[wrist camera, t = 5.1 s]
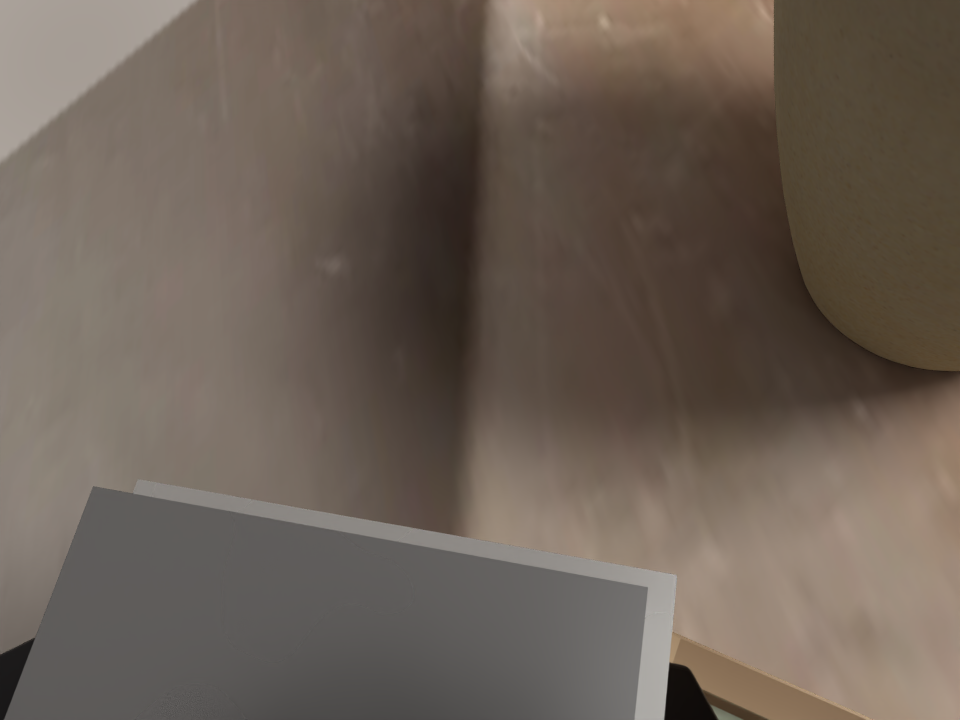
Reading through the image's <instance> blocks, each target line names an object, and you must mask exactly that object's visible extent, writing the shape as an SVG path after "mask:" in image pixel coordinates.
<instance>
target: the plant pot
mask: <svg viewBox="0 0 960 720" xmlns="http://www.w3.org/2000/svg"><path fill="white" fill-rule="evenodd" d="M774 90H775V109H776V127H777V141H778V151H779V160H780V169H781V179H782V186H783V194H784V200H785V205H786V211H787V216H788V222H789V227H790V231H791V236H792V241H793V245H794V249H795V253H796V256H797V260H798V264H799V267H800V271H801V274H802V277H803V280H804V283H805V286H806V288H807V289H808V291H809V293H810V295H811V297H812V299H813V301H814V302H815V304H816V305H817V307H818V308H819V310H820V311H821V312H822V313H823V315H824V316H825V317H826V318H827V319H828V320H829V321H830V322H831V323H832V324H833V325H834V326H835V327H836V328H837V329H838V330H839V331H840V332H841V333H843V334H844V335H845V336H847V337H848V338H849V339H851V340H852V341H854V342H855V343H857V344H858V345H860V346H862V347H863V348H865V349H866V350H868V351H870V352H872V353H874V354H876V355H878V356H880V357H883V358H885V359H888V360H891V361H894V362H896V363H900V364H904V365H907V366H911V367H915V368H921V369H926V370H939V371H960V0H774Z"/></svg>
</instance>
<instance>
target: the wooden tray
mask: <svg viewBox="0 0 960 720" xmlns="http://www.w3.org/2000/svg"><path fill="white" fill-rule="evenodd" d="M669 662H671V663H676V664H681V665H685V666H687V667H688V668H689V669H690V670H691V671H692V673H693V674H694V676H695V678H696V680H697V682H698V683H699V685H700V687H701V689H702V691H703V692H704V694H705V696H706V698H707V700H708V701H709V703H710V705H711V707H712V709H713V710H714V712H715V714H716V716H717V718H718V719H719V720H873V719H871V718H868V717H866V716H864V715H862V714H859V713H857V712H855V711H852V710H850V709H848V708H845V707H843V706H841V705H839V704H836V703H834V702H832V701H829V700H827V699H825V698H823V697H820V696H818V695H816V694H813V693H811V692H809V691H807V690H804V689H802V688H800V687H797V686H795V685H793V684H791V683H788V682H786V681H784V680H781V679H779V678H777V677H775V676H772V675H770V674H768V673H765V672H763V671H761V670H759V669H756V668H754V667H752V666H749V665H747V664H745V663H743V662H740V661H738V660H736V659H733V658H731V657H729V656H726V655H724V654H722V653H720V652H717V651H715V650H713V649H710V648H708V647H706V646H704V645H701V644H699V643H697V642H694V641H692V640H690V639H688V638H685V637H683V636H681V635H678V634H676V633H674V632H672V638H671V649H670V660H669Z"/></svg>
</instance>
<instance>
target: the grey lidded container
mask: <svg viewBox="0 0 960 720" xmlns="http://www.w3.org/2000/svg"><path fill="white" fill-rule="evenodd" d="M676 583H677V575H674V574H669V573H663V572H658V571H652V570H646V569H641V568H635V567H629V566H624V565H618V564H612V563H607V562H601V561H596V560H590V559H584V558H579V557H573V556H567V555H562V554H556V553H551V552H545V551H539V550H534V549H528V548H522V547H517V546H511V545H506V544H500V543H494V542H489V541H483V540H477V539H472V538H466V537H460V536H455V535H449V534H444V533H438V532H432V531H427V530H421V529H415V528H410V527H404V526H399V525H393V524H387V523H382V522H376V521H370V520H365V519H359V518H353V517H348V516H342V515H337V514H331V513H325V512H320V511H314V510H308V509H303V508H297V507H292V506H286V505H280V504H275V503H269V502H263V501H258V500H252V499H247V498H241V497H235V496H230V495H224V494H218V493H213V492H207V491H201V490H196V489H190V488H185V487H179V486H173V485H168V484H162V483H156V482H151V481H145V480H140V479H138V480H137V483H136V486H135V489H134V491H133V493H127V492H122V491H116V490H111V489H105V488H100V487H94V486H93V488H92V491H91V494H90V496H89V499H88V501H87V504H86V507H85V509H84V512H83V514H82V517H81V520H80V522H79V525H78V528H77V530H76V533H75V535H74V538H73V541H72V543H71V546H70V548H69V551H68V554H67V556H66V559H65V562H64V564H63V567H62V569H61V572H60V575H59V577H58V580H57V582H56V585H55V588H54V590H53V593H52V596H51V598H50V601H49V603H48V606H47V609H46V611H45V614H44V617H43V619H42V622H41V624H40V627H39V630H38V632H37V635H36V637H35V640H34V643H33V645H32V648H31V651H30V653H29V656H28V658H27V661H26V664H25V666H24V669H23V671H22V674H21V677H20V679H19V682H18V685H17V687H16V690H15V692H14V695H13V698H12V700H11V703H10V706H9V708H8V711H7V713H6V716H5V719H4V720H664V715H665V704H666V693H667V682H668V671H669V660H670V649H671V638H672V627H673V616H674V605H675V594H676Z"/></svg>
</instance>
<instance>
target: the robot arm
mask: <svg viewBox="0 0 960 720" xmlns="http://www.w3.org/2000/svg"><path fill="white" fill-rule="evenodd" d="M34 640H35V638H33V639H31V640H29V641H27V642H25V643H23V644H21V645H19V646H17V647H15V648H13V649H11V650H9V651H7V652H5V653H3V654H1V655H0V720H4V719H5V716H6V713H7V711H8V708H9V706H10V703H11V700H12V698H13V695H14V692H15V690H16V687H17V685H18V682H19V679H20V677H21V674H22V671H23V669H24V666H25V664H26V661H27V658H28V656H29V653H30V651H31V648H32V645H33V643H34ZM664 720H719V719H718V718H717V716H716V714H715V712H714V710H713V709H712V707H711V705H710V703H709V701H708V700H707V698H706V696H705V694H704V692H703V691H702V689H701V687H700V685H699V683H698V682H697V680H696V678H695V676H694V674H693V673H692V671H691V670H690V669H689V668H688V667H687V666H685V665H681V664H676V663H671V662H669V671H668V682H667V693H666V704H665V715H664Z"/></svg>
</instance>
